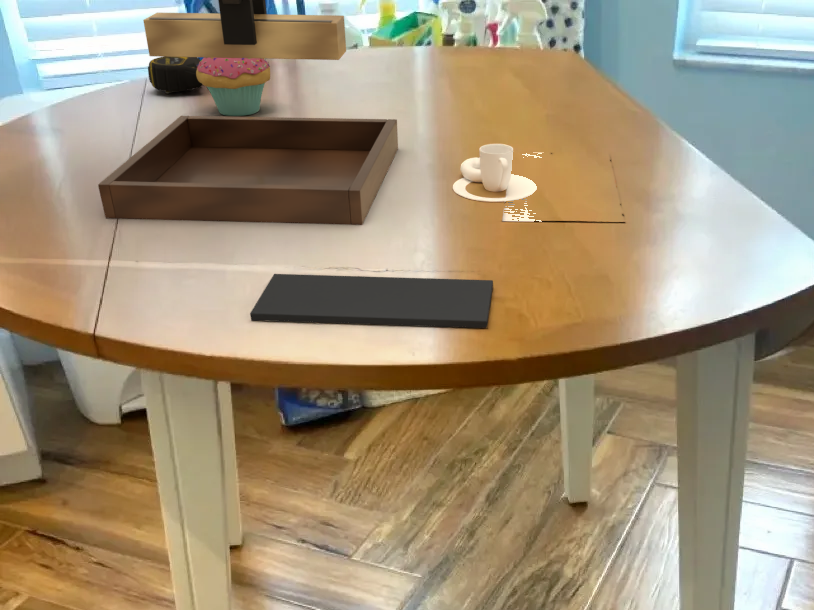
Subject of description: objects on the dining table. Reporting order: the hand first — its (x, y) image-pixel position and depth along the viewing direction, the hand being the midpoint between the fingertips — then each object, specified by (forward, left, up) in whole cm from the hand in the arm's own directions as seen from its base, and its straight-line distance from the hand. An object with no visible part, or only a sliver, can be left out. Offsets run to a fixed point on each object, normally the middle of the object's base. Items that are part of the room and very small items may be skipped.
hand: (246, 38), depth 85 cm
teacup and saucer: (+24, +3, -14) cm, 28 cm away
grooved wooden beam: (0, 0, -1) cm, 1 cm away
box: (0, +1, -13) cm, 13 cm away
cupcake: (-10, +27, -14) cm, 32 cm away
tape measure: (-20, +37, -14) cm, 44 cm away
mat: (+15, -25, -13) cm, 32 cm away
